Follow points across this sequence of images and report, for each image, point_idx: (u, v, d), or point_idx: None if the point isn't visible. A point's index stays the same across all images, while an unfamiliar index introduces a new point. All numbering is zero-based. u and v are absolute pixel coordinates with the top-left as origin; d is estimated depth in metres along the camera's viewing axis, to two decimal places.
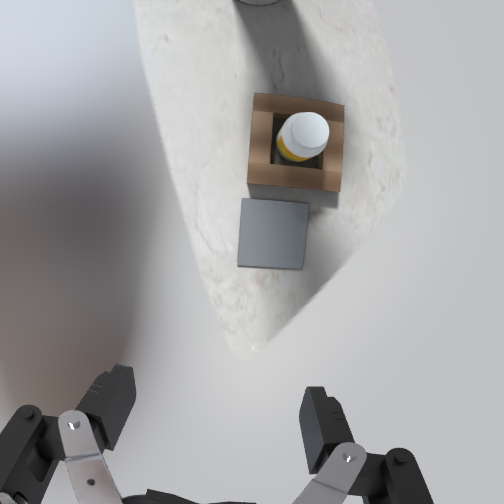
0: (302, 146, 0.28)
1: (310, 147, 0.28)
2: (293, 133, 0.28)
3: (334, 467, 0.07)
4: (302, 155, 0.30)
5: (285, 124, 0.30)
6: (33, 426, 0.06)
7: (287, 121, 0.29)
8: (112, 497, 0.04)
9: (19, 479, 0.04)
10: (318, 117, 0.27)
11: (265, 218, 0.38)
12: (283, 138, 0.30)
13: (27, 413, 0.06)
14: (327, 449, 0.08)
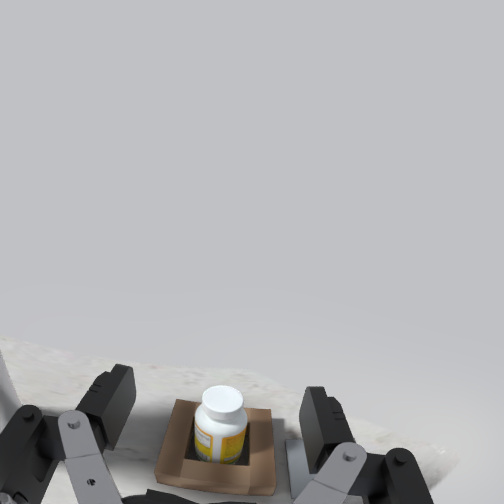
0: (241, 408, 0.24)
1: (243, 400, 0.25)
2: (229, 411, 0.23)
3: (334, 467, 0.07)
4: (246, 419, 0.25)
5: (211, 430, 0.23)
6: (33, 426, 0.06)
7: (207, 427, 0.23)
8: (112, 497, 0.04)
9: (19, 479, 0.04)
10: (208, 391, 0.26)
11: None
12: (227, 434, 0.23)
13: (27, 413, 0.06)
14: (327, 449, 0.08)
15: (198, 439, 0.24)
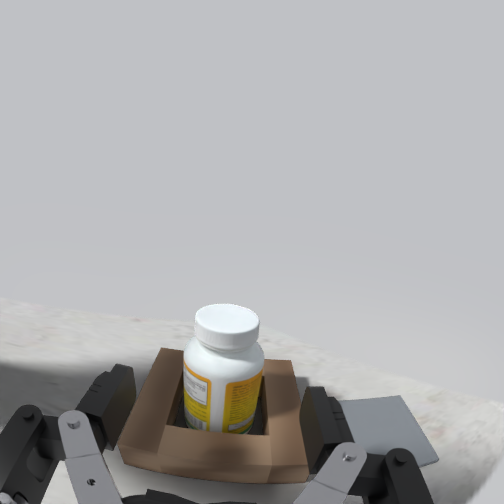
0: (257, 332, 0.17)
1: (258, 320, 0.18)
2: (238, 332, 0.16)
3: (334, 467, 0.07)
4: (263, 356, 0.18)
5: (208, 369, 0.16)
6: (33, 426, 0.06)
7: (202, 365, 0.16)
8: (112, 497, 0.04)
9: (19, 479, 0.04)
10: (205, 309, 0.18)
11: None
12: (235, 376, 0.16)
13: (27, 413, 0.06)
14: (327, 449, 0.08)
15: (188, 391, 0.17)
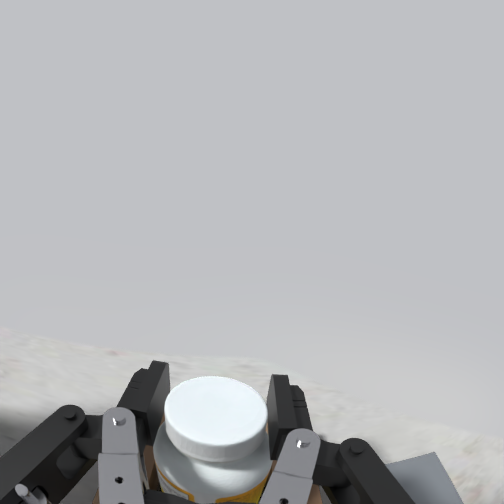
0: (264, 431, 0.09)
1: (266, 411, 0.10)
2: (233, 443, 0.08)
3: (285, 451, 0.08)
4: None
5: (187, 482, 0.08)
6: (77, 426, 0.07)
7: (178, 476, 0.08)
8: (136, 498, 0.05)
9: (44, 475, 0.05)
10: (181, 389, 0.10)
11: None
12: (229, 491, 0.08)
13: (69, 413, 0.07)
14: (283, 434, 0.09)
15: (164, 490, 0.09)
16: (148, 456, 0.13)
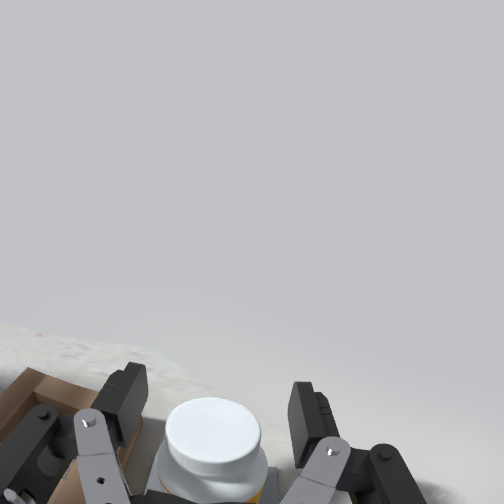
0: (257, 448, 0.10)
1: (259, 430, 0.10)
2: (228, 460, 0.09)
3: (317, 460, 0.07)
4: (266, 466, 0.11)
5: (188, 495, 0.08)
6: (48, 425, 0.06)
7: (180, 489, 0.09)
8: (121, 497, 0.05)
9: (28, 477, 0.04)
10: (180, 410, 0.11)
11: None
12: None
13: (42, 412, 0.07)
14: (312, 443, 0.09)
15: None
16: (19, 401, 0.15)
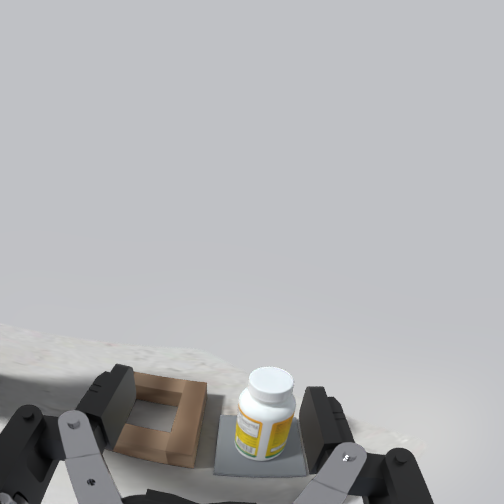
0: (292, 388, 0.23)
1: (293, 380, 0.24)
2: (281, 391, 0.22)
3: (334, 467, 0.07)
4: (295, 401, 0.24)
5: (260, 415, 0.22)
6: (33, 426, 0.06)
7: (256, 413, 0.22)
8: (112, 497, 0.04)
9: (19, 479, 0.04)
10: (254, 373, 0.24)
11: None
12: (279, 418, 0.22)
13: (27, 413, 0.06)
14: (327, 449, 0.08)
15: (243, 429, 0.23)
16: None
